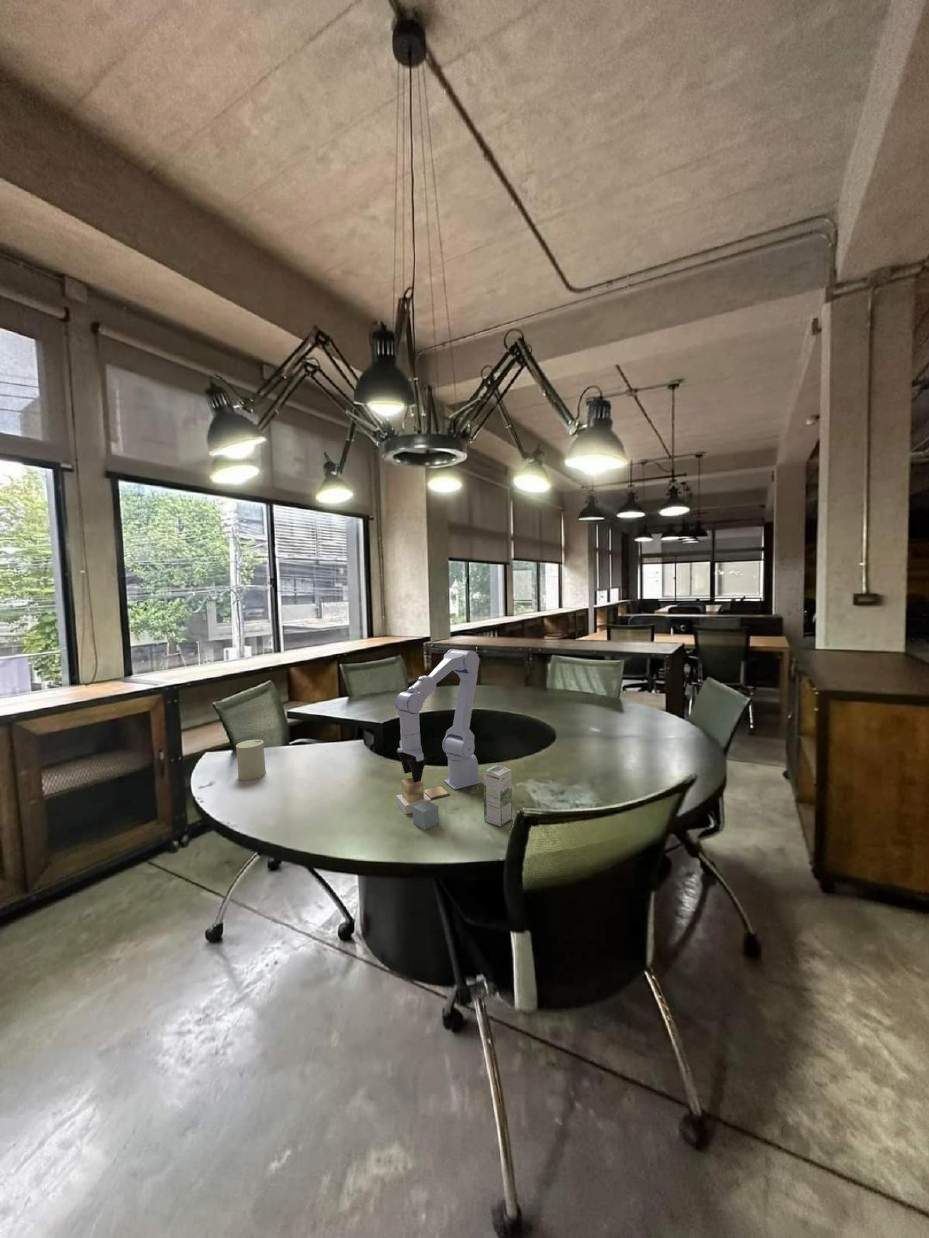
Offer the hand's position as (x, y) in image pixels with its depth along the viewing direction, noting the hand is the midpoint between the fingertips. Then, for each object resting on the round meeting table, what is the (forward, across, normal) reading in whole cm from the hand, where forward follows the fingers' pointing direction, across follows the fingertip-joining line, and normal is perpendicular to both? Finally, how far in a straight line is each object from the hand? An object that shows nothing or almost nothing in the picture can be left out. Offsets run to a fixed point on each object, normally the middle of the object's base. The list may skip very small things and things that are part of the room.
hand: (412, 776), depth 147 cm
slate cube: (+9, +12, -1) cm, 15 cm away
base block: (+9, 0, 0) cm, 9 cm away
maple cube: (+6, 0, 0) cm, 6 cm away
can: (+9, -53, -41) cm, 68 cm away
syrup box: (+9, +21, +17) cm, 28 cm away
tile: (+9, -4, +9) cm, 13 cm away
